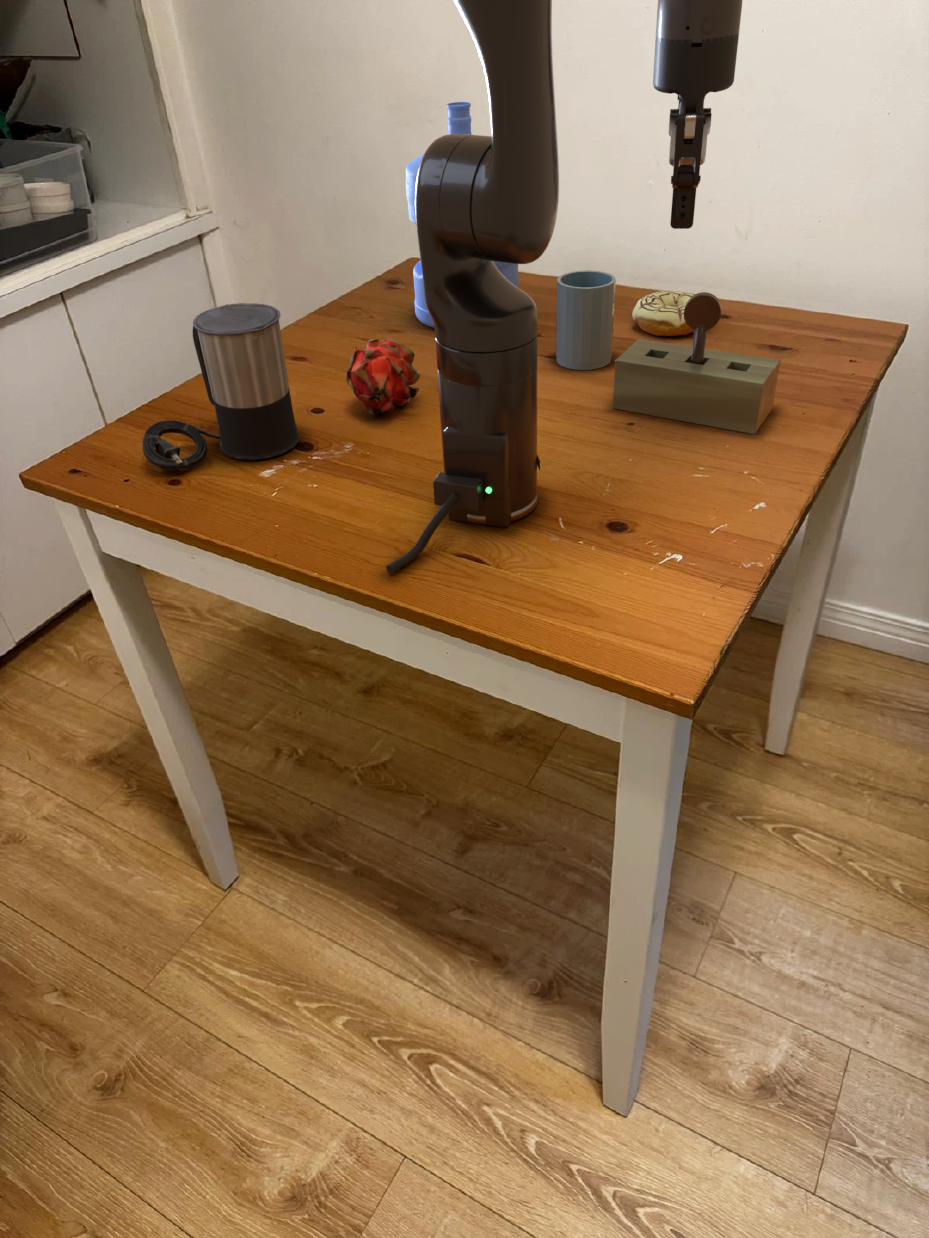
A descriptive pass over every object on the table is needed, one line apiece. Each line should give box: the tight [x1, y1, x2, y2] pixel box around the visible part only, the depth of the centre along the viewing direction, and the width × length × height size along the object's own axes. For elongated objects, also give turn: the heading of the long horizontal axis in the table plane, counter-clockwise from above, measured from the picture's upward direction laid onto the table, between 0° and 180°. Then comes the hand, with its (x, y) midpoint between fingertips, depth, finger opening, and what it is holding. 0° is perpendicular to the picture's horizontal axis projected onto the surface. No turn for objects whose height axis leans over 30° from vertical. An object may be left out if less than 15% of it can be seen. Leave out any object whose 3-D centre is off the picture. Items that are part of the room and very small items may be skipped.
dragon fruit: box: [345, 337, 421, 417], centre depth 111 cm, size 8×8×12 cm
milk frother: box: [141, 302, 301, 471], centre depth 100 cm, size 14×16×15 cm
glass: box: [555, 269, 617, 371], centre depth 118 cm, size 7×7×10 cm
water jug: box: [405, 101, 519, 329], centre depth 129 cm, size 16×16×28 cm
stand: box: [612, 338, 781, 435], centre depth 106 cm, size 7×17×6 cm, turn 60°
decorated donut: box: [631, 290, 696, 337], centre depth 129 cm, size 10×11×4 cm
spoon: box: [684, 291, 722, 365], centre depth 104 cm, size 4×1×14 cm, turn 75°
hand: (681, 215), depth 94 cm, fingers open, 8 cm apart
